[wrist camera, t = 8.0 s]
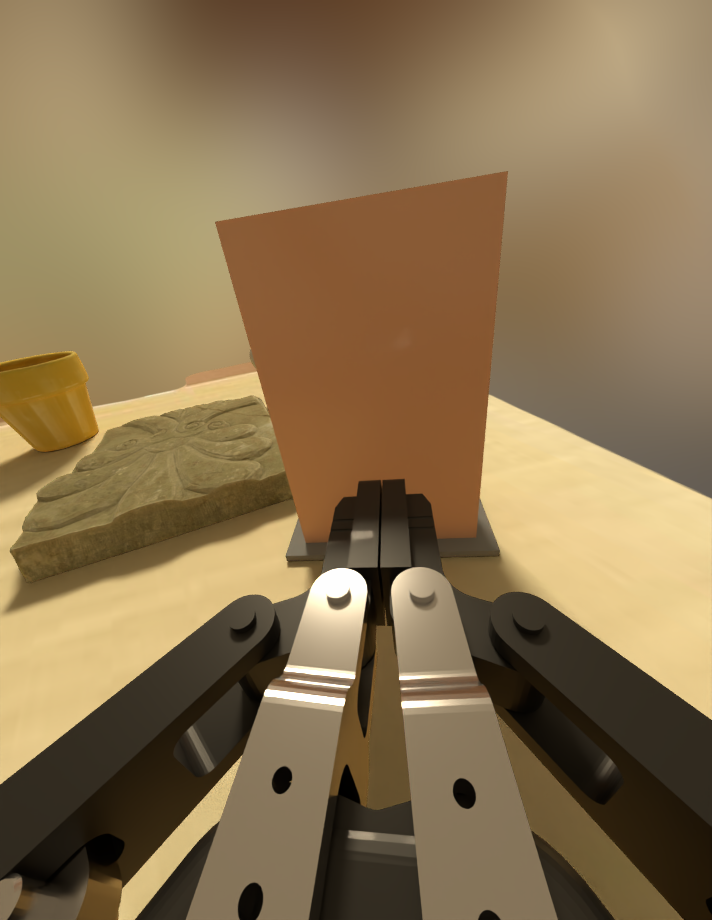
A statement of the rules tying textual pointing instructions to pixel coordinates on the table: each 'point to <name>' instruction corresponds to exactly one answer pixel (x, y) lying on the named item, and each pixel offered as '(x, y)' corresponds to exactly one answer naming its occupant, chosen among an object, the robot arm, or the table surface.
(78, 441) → the plant pot
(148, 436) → the decorative tile
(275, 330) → the terracotta tile
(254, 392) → the table surface
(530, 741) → the robot arm
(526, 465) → the table surface
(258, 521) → the table surface
